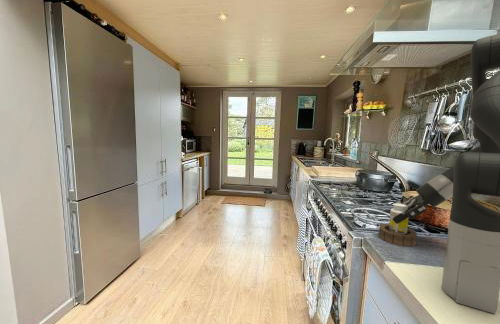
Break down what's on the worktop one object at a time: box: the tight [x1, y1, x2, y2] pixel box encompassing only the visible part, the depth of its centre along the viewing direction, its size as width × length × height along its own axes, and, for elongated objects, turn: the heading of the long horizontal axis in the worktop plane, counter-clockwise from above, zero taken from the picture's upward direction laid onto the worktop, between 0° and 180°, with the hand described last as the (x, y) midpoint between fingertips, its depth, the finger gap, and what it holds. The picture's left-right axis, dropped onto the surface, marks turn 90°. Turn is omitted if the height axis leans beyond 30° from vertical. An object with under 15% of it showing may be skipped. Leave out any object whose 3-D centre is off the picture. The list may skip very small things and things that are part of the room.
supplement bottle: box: [388, 203, 409, 234], centre depth 81 cm, size 6×6×10 cm
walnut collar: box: [378, 223, 418, 247], centre depth 81 cm, size 11×11×4 cm
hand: (393, 218), depth 81 cm, fingers closed on supplement bottle, 5 cm apart
